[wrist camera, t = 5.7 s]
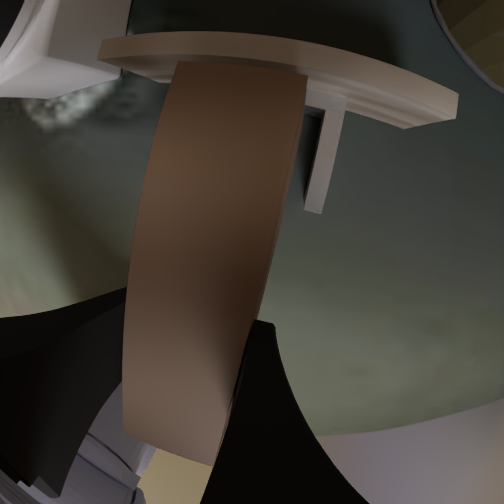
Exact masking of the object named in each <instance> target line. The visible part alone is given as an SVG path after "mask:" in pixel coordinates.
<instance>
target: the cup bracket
mask: <svg viewBox="0 0 504 504" xmlns="http://www.w3.org/2000/svg"><path fill="white" fill-rule="evenodd" d="M346 103H347V97H343V96H340V95H336V94H332V93H328V92H324V91H320V90H315V89H311V88H307V91H306V100H305V108H304V114H305V115H309V116H313V117H318V118H322V119H321V124H320V129H319V134H318V138H317V143H316V147H315V152H314V157H313V161H312V165H311V170H310V174H309V179H308V183H307V187H306V192H305V196H304V210H306V211H310V212H314V213H318V214H321V213H322V210H323V206H324V202H325V198H326V194H327V190H328V185H329V181H330V177H331V173H332V169H333V164H334V160H335V155H336V151H337V146H338V142H339V137H340V133H341V128H342V123H343V118H344V113H345V108H346Z"/></svg>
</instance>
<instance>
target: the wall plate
mask: <svg viewBox="0 0 504 504" xmlns="http://www.w3.org/2000/svg"><path fill="white" fill-rule="evenodd" d="M97 60H99V61H102V62H105V63H108V64H111V65H114V66H117V67H120V68H122V69H125V70H128V71H131V72H133V73H136V74H139V75H141V76H144V77H146V78H149V79H151V80H154V81H156V82H159V83H171V80H172V77H173V74H174V71H175V68H176V66H177V63H178V61H196V62H215V63H228V64H238V65H247V66H255V67H263V68H270V69H276V70H282V71H288V72H293V73H298V74H303V75H308V82H307V88H311V89H315V90H320V91H324V92H328V93H332V94H336V95H340V96H343V97H347V103H346V108H345V110H347V111H351V112H354V113H358V114H361V115H364V116H367V117H371V118H374V119H377V120H380V121H383V122H386V123H389V124H392V125H394V126H397V127H400V128H403V129H406V128H410V127H415V126H420V125H424V124H429V123H434V122H439V121H444V120H449V119H455V118H456V112H457V104H458V95H459V94H458V93H456V92H454V91H452V90H450V89H448V88H446V87H444V86H442V85H439V84H437V83H435V82H433V81H431V80H428V79H426V78H424V77H421V76H419V75H417V74H414V73H412V72H409V71H407V70H404V69H401V68H399V67H396V66H393V65H391V64H388V63H385V62H382V61H379V60H376V59H373V58H370V57H366V56H363V55H360V54H356V53H353V52H349V51H345V50H341V49H337V48H333V47H329V46H325V45H320V44H315V43H311V42H305V41H300V40H294V39H288V38H282V37H275V36H267V35H258V34H248V33H235V32H214V31H180V32H159V33H147V34H137V35H128V36H120V37H114V38H107V39H102V43H101V46H100V49H99V53H98V57H97Z"/></svg>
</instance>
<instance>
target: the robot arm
mask: <svg viewBox="0 0 504 504" xmlns="http://www.w3.org/2000/svg"><path fill="white" fill-rule="evenodd" d="M126 294H127V287H125V288H122V289H119V290H116V291H113V292H110V293H107V294H104V295H101V296H98V297H95V298H92V299H89V300H86V301H83V302H79V303H76V304H72V305H69V306H66V307H62V308H59V309H55V310H51V311H46V312H41V313H36V314H30V315H24V316H14V317H4V318H0V504H146V501H145V498H144V494H143V491H142V490H141V489H140V488H138V487H136V486H137V484H138V482H139V480H140V478H141V477H140V475H141V474H143V473H144V471H145V470H146V469H147V467H148V465H149V463H150V461H151V459H152V457H153V455H154V453H155V451H156V449H157V447H154V446H152V445H149V444H147V443H145V442H142V441H140V440H138V439H135V438H133V437H131V436H129V435H127V434H124V429H123V404H122V360H123V335H124V318H125V305H126ZM275 329H276V328H275V326H274V324H272V323H268V322H264V321H260V320H256V319H254V321H253V324H252V327H251V329H250V332H249V336H248V340H247V344H246V348H245V352H244V356H243V360H242V364H241V368H240V372H239V376H238V380H237V384H236V388H235V392H234V397H233V402H232V407H231V412H230V417H229V422H228V426H227V429H226V432H225V435H224V438H223V441H222V444H221V447H220V449H219V452H218V455H217V458H216V461H215V464H214V467H213V469H212V472H211V475H210V478H209V480H208V484H207V486H206V489H205V491H204V494H203V497H202V500H201V502H200V504H369V503H368V502H367V501H366V500H365V499H364V498H363V497H362V496H361V495H360V494H359V493H358V492H357V491H356V490H355V489H354V488H353V487H352V486H351V485H350V484H349V483H348V481H347V480H346V479H345V478H344V476H343V475H342V474H341V473H340V471H339V470H338V469H337V468H336V466H335V465H334V464H333V462H332V461H331V459H330V458H329V457H328V455H327V454H326V452H325V451H324V449H323V448H322V447H321V445H320V444H319V442H318V441H317V439H316V438H315V436H314V434H313V433H312V431H311V429H310V427H309V426H308V424H307V422H306V420H305V418H304V416H303V414H302V412H301V410H300V408H299V406H298V404H297V402H296V400H295V397H294V395H293V393H292V390H291V387H290V385H289V382H288V380H287V377H286V374H285V371H284V367H283V364H282V361H281V357H280V353H279V349H278V344H277V339H276V330H275Z"/></svg>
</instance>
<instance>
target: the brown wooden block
mask: <svg viewBox="0 0 504 504" xmlns="http://www.w3.org/2000/svg"><path fill="white" fill-rule="evenodd" d="M307 82H308V75H303V74H298V73H293V72H288V71H282V70H276V69H270V68H263V67H255V66H247V65H238V64H228V63H215V62H196V61H178V63H177V66H176V68H175V71H174V74H173V77H172V80H171V83H170V86H169V89H168V92H167V95H166V99H165V102H164V105H163V108H162V112H161V115H160V119H159V122H158V126H157V129H156V133H155V137H154V141H153V145H152V149H151V153H150V157H149V161H148V165H147V170H146V174H145V179H144V183H143V188H142V193H141V198H140V203H139V208H138V214H137V220H136V225H135V232H134V238H133V245H132V252H131V259H130V267H129V275H128V284H127V294H126V305H125V318H124V335H123V360H122V404H123V429H124V434H127V435H129V436H131V437H133V438H135V439H138V440H140V441H142V442H145V443H147V444H149V445H152V446H154V447H157V448H159V449H162V450H165V451H167V452H170V453H173V454H176V455H178V456H181V457H184V458H187V459H190V460H193V461H196V462H199V463H203V464H206V465H209V466H214V463H215V460H216V457H217V454H218V451H219V448H220V445H221V442H222V439H223V436H224V433H225V430H226V427H227V424H228V421H229V417H230V412H231V407H232V402H233V397H234V392H235V388H236V384H237V380H238V376H239V372H240V368H241V364H242V360H243V356H244V352H245V348H246V344H247V340H248V336H249V332H250V329H251V327H252V324H253V321H254V319H256V320H257V318H258V314H259V310H260V306H261V302H262V298H263V294H264V290H265V286H266V282H267V278H268V274H269V270H270V266H271V262H272V258H273V254H274V249H275V245H276V241H277V237H278V233H279V229H280V224H281V220H282V216H283V212H284V207H285V203H286V199H287V194H288V190H289V186H290V181H291V177H292V172H293V168H294V164H295V159H296V155H297V150H298V146H299V141H300V136H301V132H302V125H303V117H304V108H305V100H306V91H307Z"/></svg>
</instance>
